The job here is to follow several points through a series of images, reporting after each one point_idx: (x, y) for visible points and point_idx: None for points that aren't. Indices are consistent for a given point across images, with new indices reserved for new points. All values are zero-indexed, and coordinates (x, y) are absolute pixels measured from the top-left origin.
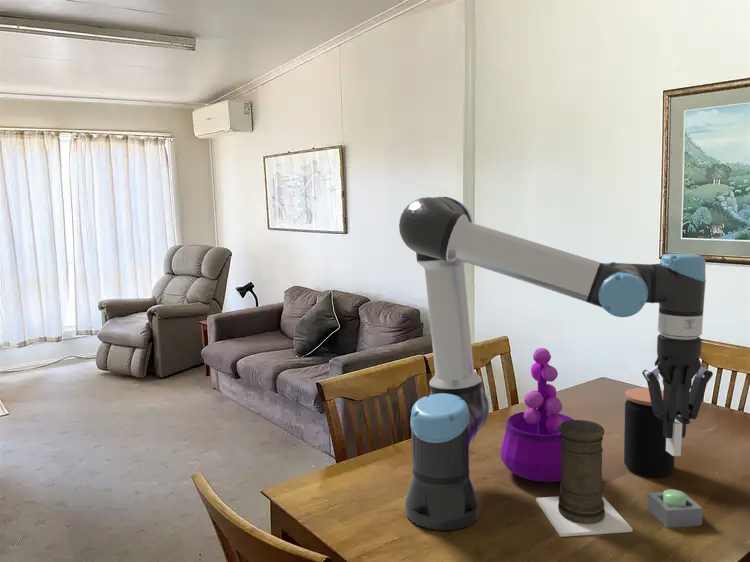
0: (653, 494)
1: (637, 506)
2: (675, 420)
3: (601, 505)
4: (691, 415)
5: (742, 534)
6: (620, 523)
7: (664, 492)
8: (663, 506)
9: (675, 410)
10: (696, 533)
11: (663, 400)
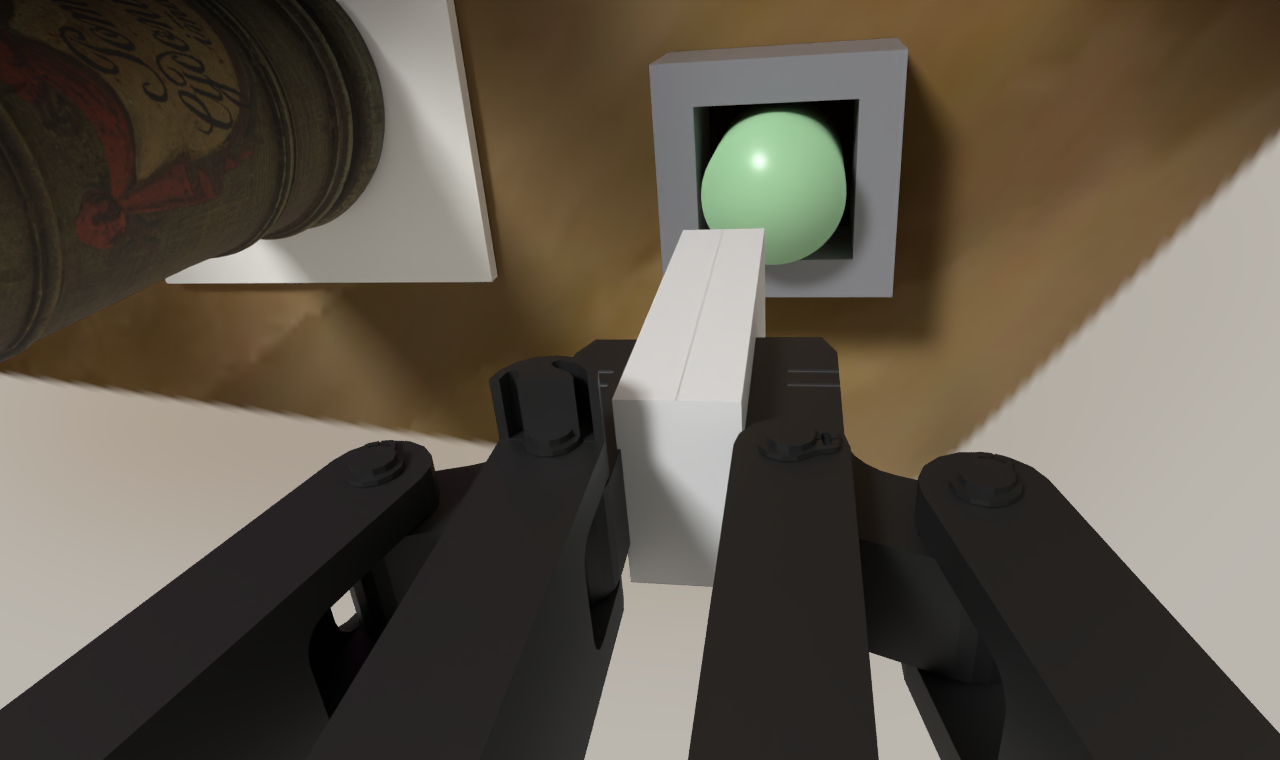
0: (677, 87)
1: (622, 4)
2: (709, 475)
3: (319, 200)
4: (909, 683)
5: (1041, 363)
6: (448, 227)
7: (715, 164)
8: (666, 250)
9: (584, 749)
10: (805, 325)
11: (373, 672)
